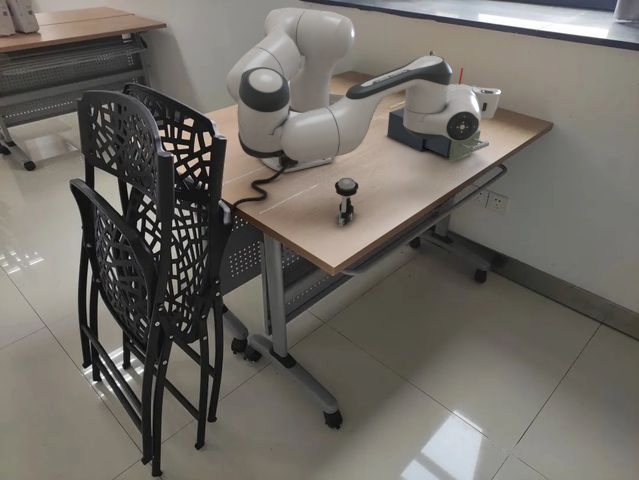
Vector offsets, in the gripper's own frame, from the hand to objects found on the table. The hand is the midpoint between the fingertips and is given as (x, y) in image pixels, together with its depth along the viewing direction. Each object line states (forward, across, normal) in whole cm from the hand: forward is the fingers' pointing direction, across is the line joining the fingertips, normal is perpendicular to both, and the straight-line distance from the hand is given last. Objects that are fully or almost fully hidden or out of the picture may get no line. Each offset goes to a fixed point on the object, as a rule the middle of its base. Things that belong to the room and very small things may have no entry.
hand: (459, 87), depth 126 cm
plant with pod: (+40, -10, -20) cm, 46 cm away
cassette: (+22, -36, -20) cm, 47 cm away
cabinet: (+8, -9, -19) cm, 23 cm away
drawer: (-1, +1, -19) cm, 19 cm away
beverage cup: (-1, 0, -9) cm, 9 cm away
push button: (-44, -24, -20) cm, 54 cm away
